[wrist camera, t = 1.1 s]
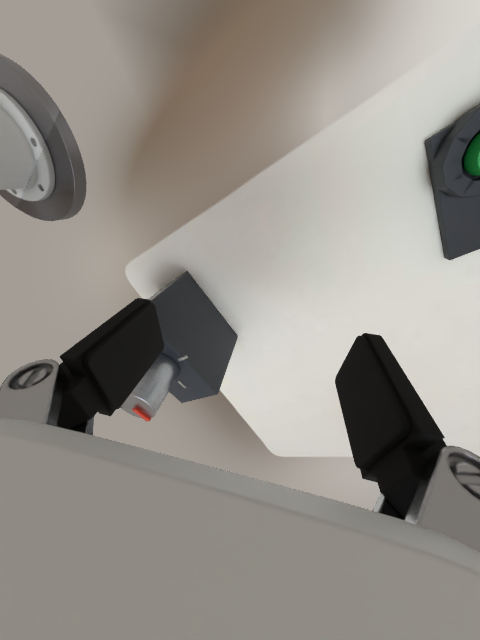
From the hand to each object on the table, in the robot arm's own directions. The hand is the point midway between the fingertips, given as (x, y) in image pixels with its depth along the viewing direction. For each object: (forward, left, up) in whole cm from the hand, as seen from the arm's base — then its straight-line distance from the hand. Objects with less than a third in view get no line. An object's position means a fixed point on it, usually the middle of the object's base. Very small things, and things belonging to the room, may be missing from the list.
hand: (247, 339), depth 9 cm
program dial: (+4, -16, -7) cm, 18 cm away
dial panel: (+4, -16, -19) cm, 26 cm away
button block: (+5, +19, -19) cm, 27 cm away
